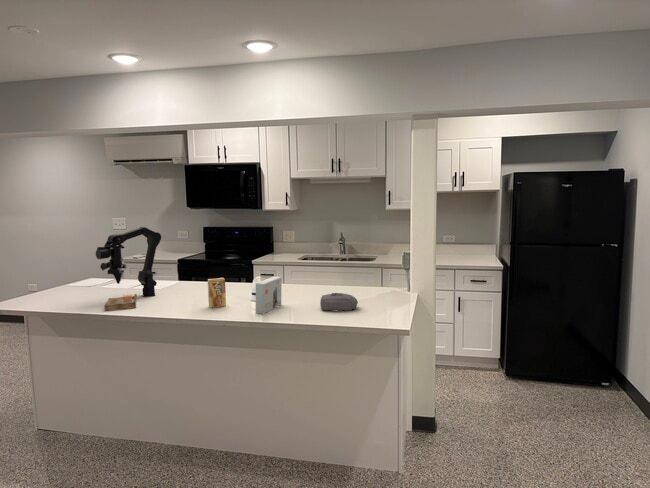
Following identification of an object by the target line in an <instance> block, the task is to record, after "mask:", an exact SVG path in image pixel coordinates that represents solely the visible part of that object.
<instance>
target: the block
mask: <svg viewBox="0 0 650 488" xmlns="http://www.w3.org/2000/svg"><path fill="white" fill-rule="evenodd" d="M132 296H133V294H124V295H122V297H123V302H132Z"/></svg>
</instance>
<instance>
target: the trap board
mask: <svg viewBox="0 0 650 488" xmlns="http://www.w3.org/2000/svg"><path fill="white" fill-rule="evenodd" d="M137 301H138V295H137V293H135V294H134V295H132V302H123V296H120V297H112V298H111V297H109V298H108V300H107V302H106V304H105V305H104V309H105V312H111V311H121V310H133V309H137Z"/></svg>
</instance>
